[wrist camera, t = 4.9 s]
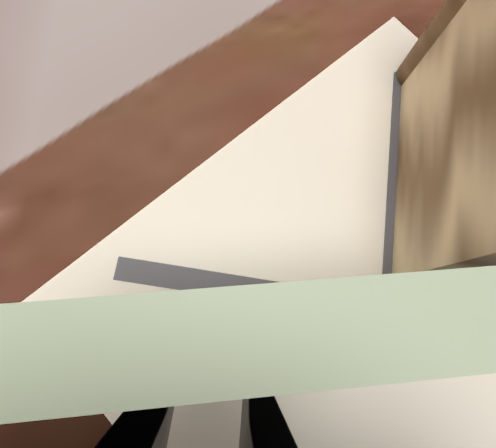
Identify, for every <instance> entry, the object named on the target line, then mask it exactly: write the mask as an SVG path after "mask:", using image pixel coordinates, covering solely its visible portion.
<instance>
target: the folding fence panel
mask: <svg viewBox="0 0 496 448" xmlns="http://www.w3.org/2000/svg"><path fill="white" fill-rule="evenodd" d="M491 373H496V266H483V267H470V268H457V269H445V270H432V271H419V272H406V273H393V274H380V275H367V276H354V277H342V278H329V279H316V280H303V281H290V282H277V283H264V284H251V285H238V286H226V287H213V288H200V289H187V290H174V291H161V292H148V293H135V294H122V295H110V296H97V297H84V298H71V299H58V300H45V301H32V302H19V303H7V304H0V424H9V423H19V422H28V421H38V420H48V419H57V418H67V417H77V416H86V415H96V414H106V413H115V412H125V411H134V410H144V409H154V408H163V407H173V406H183V405H192V404H202V403H212V402H221V401H231V400H240V399H250V398H260V397H269V396H279V395H289V394H298V393H308V392H318V391H327V390H337V389H346V388H356V387H366V386H375V385H385V384H395V383H404V382H414V381H424V380H433V379H443V378H453V377H462V376H472V375H481V374H491Z"/></svg>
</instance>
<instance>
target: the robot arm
mask: <svg viewBox="0 0 496 448" xmlns="http://www.w3.org/2000/svg"><path fill="white" fill-rule="evenodd" d="M173 411H174V406H173V407H163V408H154V409H144V410H134V411H125V412H122V414H121V415H120V416H119V417H118V419H117V420H116V421H115V422H114V424H113V425H112V426H111V427H110V428H109V430H108V431H107V432H106V433H105V435H104V436H103V437H102V438H101V440H100V441H99V442H98V443H97V445H96V446H95V447H94V448H167V443H168V437H169V432H170V427H171V422H172V416H173ZM239 448H298V446H297V444H296V442H295V440H294V438H293V435H292V433H291V431H290V429H289V427H288V425H287V422H286V420H285V418H284V416H283V414H282V411H281V409H280V407H279V405H278V403H277V400H276V398H275V396H269V397H260V398H250V399H243V401H242V413H241V426H240V439H239Z"/></svg>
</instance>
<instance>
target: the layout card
mask: <svg viewBox="0 0 496 448" xmlns="http://www.w3.org/2000/svg"><path fill="white" fill-rule="evenodd" d="M417 40H418V38H417V37H416V36H414V35H413V34H412V33H411V32H410V31H409V30H408V29H407V28H406V27H405V26H404V25H402V24H401V23H400V22H399V21H398V20H397V19H396V18H395V17H393V18H392V19H390V20H389V21H388V22H386V23H385V24H384V25H382V26H381V27H380V28H378V29H377V30H376V31H375V32H373V33H372V34H371V35H369V36H368V37H367V38H365V39H364V40H363V41H361V42H360V43H359V44H358V45H356V46H355V47H354V48H352V49H351V50H350V51H348V52H347V53H346V54H345V55H343V56H342V57H341V58H339V59H338V60H337V61H335V62H334V63H333V64H331V65H330V66H329V67H328V68H326V69H325V70H324V71H322V72H321V73H320V74H318V75H317V76H316V77H315V78H313V79H312V80H311V81H309V82H308V83H307V84H305V85H304V86H303V87H301V88H300V89H299V90H298V91H296V92H295V93H294V94H292V95H291V96H290V97H288V98H287V99H286V100H284V101H283V102H282V103H281V104H279V105H278V106H277V107H275V108H274V109H273V110H271V111H270V112H269V113H268V114H266V115H265V116H264V117H262V118H261V119H260V120H258V121H257V122H256V123H254V124H253V125H252V126H251V127H249V128H248V129H247V130H245V131H244V132H243V133H241V134H240V135H239V136H237V137H236V138H235V139H234V140H232V141H231V142H230V143H228V144H227V145H226V146H224V147H223V148H222V149H221V150H219V151H218V152H217V153H215V154H214V155H213V156H211V157H210V158H209V159H207V160H206V161H205V162H204V163H202V164H201V165H200V166H198V167H197V168H196V169H194V170H193V171H192V172H191V173H189V174H188V175H187V176H185V177H184V178H183V179H181V180H180V181H179V182H177V183H176V184H175V185H174V186H172V187H171V188H170V189H168V190H167V191H166V192H164V193H163V194H162V195H160V196H159V197H158V198H157V199H155V200H154V201H153V202H151V203H150V204H149V205H147V206H146V207H145V208H144V209H142V210H141V211H140V212H138V213H137V214H136V215H134V216H133V217H132V218H130V219H129V220H128V221H127V222H125V223H124V224H123V225H121V226H120V227H119V228H117V229H116V230H115V231H114V232H112V233H111V234H110V235H108V236H107V237H106V238H104V239H103V240H102V241H100V242H99V243H98V244H97V245H95V246H94V247H93V248H91V249H90V250H89V251H87V252H86V253H85V254H83V255H82V256H81V257H80V258H78V259H77V260H76V261H74V262H73V263H72V264H70V265H69V266H68V267H67V268H65V269H64V270H63V271H61V272H60V273H59V274H57V275H56V276H55V277H53V278H52V279H51V280H50V281H48V282H47V283H46V284H44V285H43V286H42V287H40V288H39V289H38V290H36V291H35V292H34V293H33V294H31V295H30V296H29V297H27V298H26V299H25V300H23V301H22V302H32V301H45V300H58V299H71V298H84V297H97V296H110V295H122V294H135V293H148V292H161V291H174V290H187V289H200V288H213V287H226V286H238V285H251V284H264V283H277V282H290V281H303V280H316V279H329V278H342V277H354V276H367V275H380V274H392V262H393V242H394V223H395V203H396V183H397V163H398V144H399V124H400V104H401V85H400V84H399V82H398V80H397V77H396V71H397V69H398V68H399V66H400V65H401V63H402V62H403V60H404V59H405V58H406V56H407V55H408V53H409V52H410V50H411V49H412V47H413V46H414V45H415V43H416V42H417ZM275 398H276V400H277V403H278V405H279V407H280V409H281V411H282V414H283V416H284V418H285V420H286V422H287V425H288V427H289V429H290V431H291V433H292V435H293V438H294V440H295V442H296V444H297V446H298V448H496V373H491V374H481V375H472V376H462V377H453V378H443V379H433V380H424V381H414V382H404V383H395V384H385V385H375V386H366V387H356V388H346V389H337V390H327V391H318V392H308V393H298V394H289V395H279V396H275ZM242 401H243V399H240V400H231V401H221V402H212V403H202V404H192V405H183V406H174V411H173V416H172V422H171V427H170V432H169V437H168V443H167V448H239V439H240V426H241V413H242ZM121 414H122V412H115V413H106V414H104V415H105V416H106V417H107V419H108V420H109V421H110V423H111V424H112V425H113V424H114V422H115V421H116V420H117V419H118V417H119V416H120V415H121Z"/></svg>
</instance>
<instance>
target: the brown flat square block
mask: <svg viewBox="0 0 496 448" xmlns="http://www.w3.org/2000/svg"><path fill="white" fill-rule="evenodd" d="M396 77H397V80H398V82H399V84H400V85H401V104H400V124H399V144H398V163H397V183H396V203H395V223H394V242H393V262H392V274H393V273H406V272H419V271H432V270H445V269H457V268H470V267H483V266H496V0H445V1H444V3H443V4H442V6H441V7H440V9H439V10H438V11H437V13H436V14H435V16H434V17H433V19H432V20H431V22H430V23H429V24H428V26H427V27H426V29H425V30H424V32H423V33H422V35H421V36H420V37H419V39H418V40H417V42H416V43H415V45H414V46H413V47H412V49H411V50H410V52H409V53H408V55H407V56H406V58H405V59H404V60H403V62H402V63H401V65H400V66H399V68H398V69H397V71H396Z"/></svg>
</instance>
